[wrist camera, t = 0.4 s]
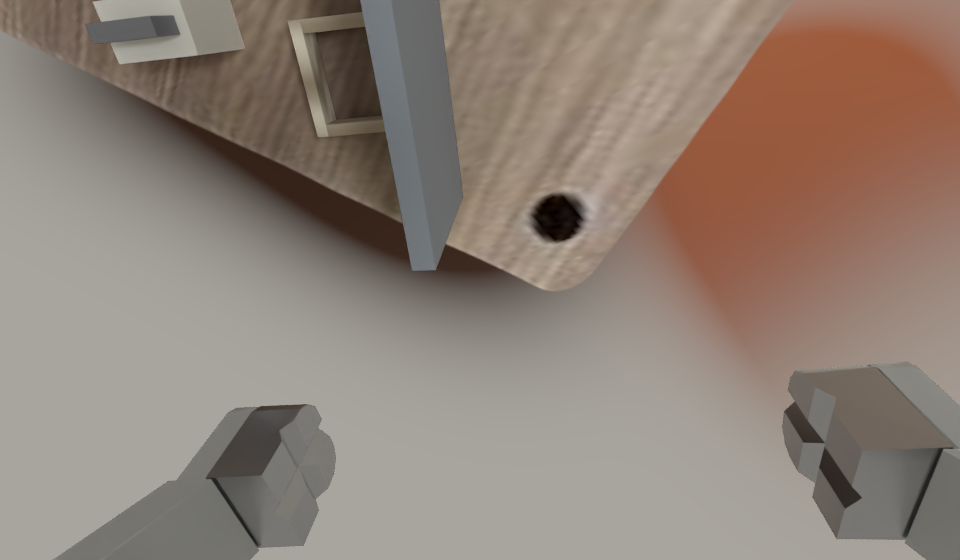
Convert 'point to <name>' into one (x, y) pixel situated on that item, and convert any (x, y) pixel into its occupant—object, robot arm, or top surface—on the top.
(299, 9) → the top surface
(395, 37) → the wall board
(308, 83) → the frame
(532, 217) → the top surface
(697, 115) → the top surface
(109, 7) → the cream block with tab
